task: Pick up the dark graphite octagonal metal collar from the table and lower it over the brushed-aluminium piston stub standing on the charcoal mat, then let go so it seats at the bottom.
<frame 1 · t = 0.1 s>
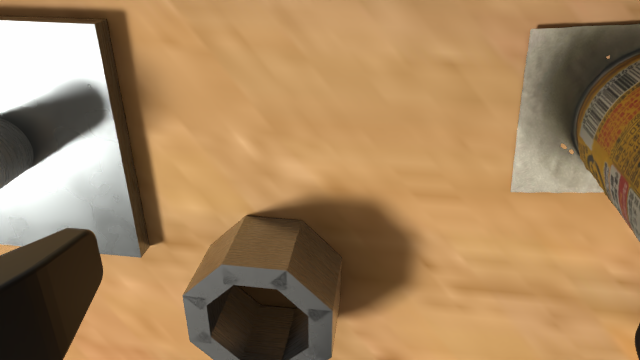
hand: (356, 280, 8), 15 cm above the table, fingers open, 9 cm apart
octagonal metal collar: (276, 272, 27), on the table
condiment: (624, 111, 21), on the table
piston post: (17, 138, 25), on the table
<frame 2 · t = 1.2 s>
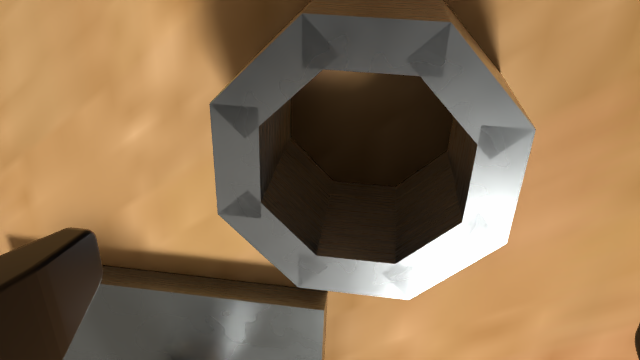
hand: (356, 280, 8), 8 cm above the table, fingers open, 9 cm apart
octagonal metal collar: (370, 113, 15), on the table
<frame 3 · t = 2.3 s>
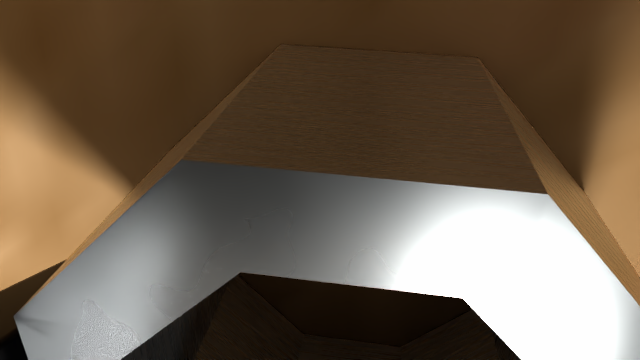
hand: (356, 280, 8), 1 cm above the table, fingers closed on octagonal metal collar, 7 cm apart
octagonal metal collar: (360, 244, 9), on the table, touching gripper
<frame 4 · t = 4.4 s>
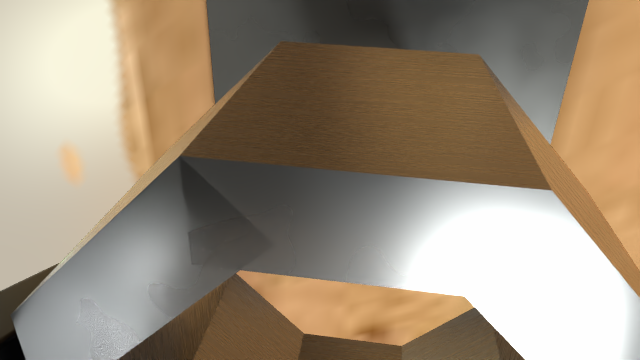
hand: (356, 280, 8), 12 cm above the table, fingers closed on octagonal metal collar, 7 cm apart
octagonal metal collar: (360, 242, 9), point 11 cm above the table, touching gripper
piston post: (380, 94, 19), on the table
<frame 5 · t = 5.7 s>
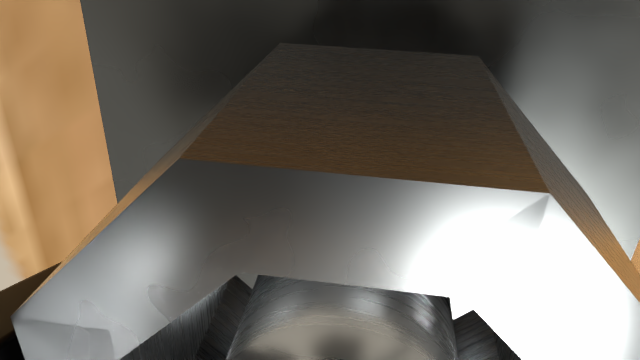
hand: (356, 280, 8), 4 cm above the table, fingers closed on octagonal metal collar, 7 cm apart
octagonal metal collar: (360, 243, 9), point 3 cm above the table, touching gripper
piston post: (367, 163, 12), on the table
when the fingers open (4 cm above the table, at t = 6.7 s): octagonal metal collar drops 2 cm, resting on piston post.
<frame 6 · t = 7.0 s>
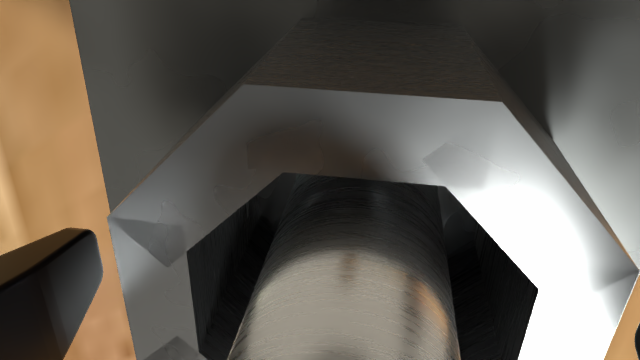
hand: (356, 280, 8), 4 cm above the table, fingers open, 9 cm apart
octagonal metal collar: (367, 190, 11), point 1 cm above the table, touching piston post
piston post: (368, 170, 12), on the table
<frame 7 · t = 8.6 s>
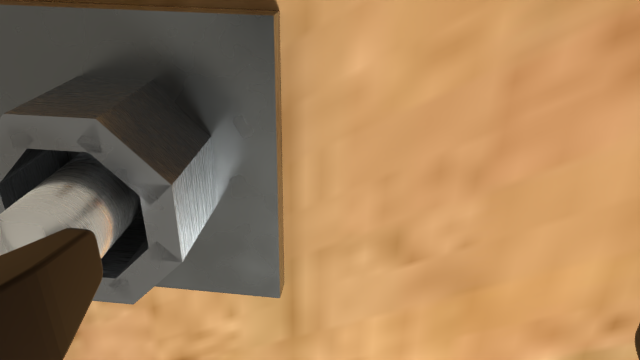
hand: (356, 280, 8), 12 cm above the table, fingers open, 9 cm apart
octagonal metal collar: (129, 165, 20), point 1 cm above the table, touching piston post
piston post: (139, 155, 21), on the table
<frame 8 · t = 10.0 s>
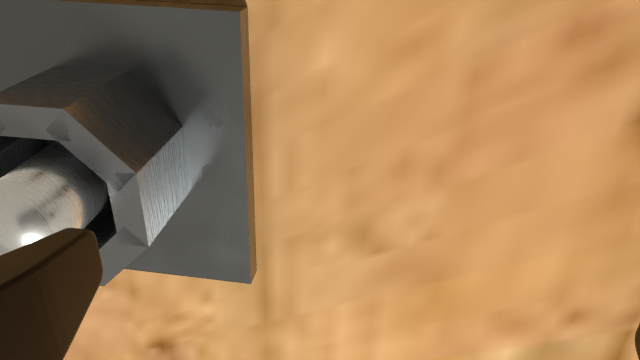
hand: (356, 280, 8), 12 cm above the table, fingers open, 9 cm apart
octagonal metal collar: (105, 152, 21), point 1 cm above the table, touching piston post
piston post: (116, 143, 22), on the table
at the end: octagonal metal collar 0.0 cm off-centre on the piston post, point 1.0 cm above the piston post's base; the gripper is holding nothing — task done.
